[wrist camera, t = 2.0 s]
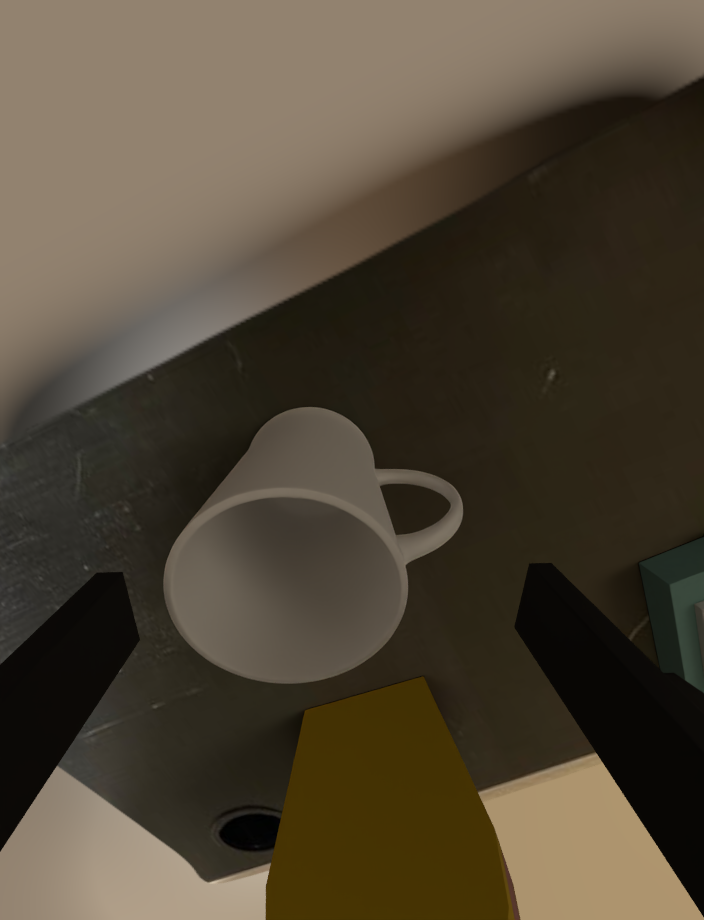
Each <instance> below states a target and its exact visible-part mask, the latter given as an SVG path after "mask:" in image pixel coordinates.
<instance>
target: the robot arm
mask: <svg viewBox="0 0 704 920" xmlns="http://www.w3.org/2000/svg"><path fill="white" fill-rule="evenodd" d="M515 629H516V631H517V632H518V634H519V635H520V637H521V638H522V640H523V641H524V643H525V644H526V646H527V647H528V649H529V650H530V652H531V653H532V655H533V657H534V658H535V660H536V661H537V663H538V664H539V666H540V667H541V669H542V670H543V672H544V673H545V675H546V676H547V678H548V679H549V681H550V683H551V684H552V686H553V687H554V689H555V690H556V692H557V693H558V695H559V696H560V698H561V699H562V701H563V702H564V704H565V705H566V707H567V709H568V710H569V712H570V713H571V715H572V716H573V718H574V719H575V721H576V722H577V724H578V725H579V727H580V728H581V730H582V732H583V733H584V735H585V736H586V738H587V739H588V741H589V742H590V744H591V745H592V747H593V748H594V750H595V751H596V753H597V754H598V756H599V758H600V759H601V761H602V762H603V764H604V765H605V767H606V768H607V770H608V771H609V773H610V774H611V776H612V777H613V779H614V780H615V782H616V784H617V785H618V786H619V788H620V790H621V791H622V793H623V794H624V796H625V797H626V799H627V800H628V802H629V803H630V805H631V806H632V808H633V810H634V811H635V813H636V814H637V816H638V817H639V819H640V820H641V822H642V823H643V825H644V826H645V828H646V829H647V831H648V832H649V834H650V836H651V837H652V839H653V840H654V841H655V843H656V845H657V846H658V848H659V849H660V851H661V852H662V854H663V855H664V857H665V858H666V860H667V862H668V863H669V865H670V866H671V867H672V869H673V871H674V872H675V874H676V875H677V877H678V878H679V880H680V881H681V883H682V885H683V886H684V888H685V889H686V890H687V892H688V893H689V895H690V897H691V898H692V900H693V901H694V903H695V904H696V906H697V907H698V909H699V911H700V912H701V914H702V915H703V917H704V693H703V692H702V691H700V690H699V689H697V688H696V687H694V686H693V685H691V684H690V683H688V682H687V681H685V680H684V679H683V678H681V677H680V676H678V675H677V674H675V673H663V672H662V671H661V670H660V669H659V668H658V667H657V666H656V665H655V664H654V663H653V662H652V661H651V660H650V659H649V658H648V657H647V656H646V655H645V654H644V653H643V652H641V651H640V650H639V649H638V648H637V647H636V646H635V645H634V644H633V643H632V642H631V641H630V640H629V639H628V638H627V637H626V636H625V635H624V634H623V633H622V632H621V631H620V630H619V629H618V628H617V627H616V626H615V625H614V624H613V623H612V622H611V621H610V620H609V619H608V618H607V617H606V616H605V615H604V614H603V613H602V612H601V611H600V610H599V609H598V608H597V607H596V606H595V605H594V604H593V603H591V602H590V601H589V600H588V599H587V598H586V597H585V596H584V595H583V594H582V593H581V592H580V591H579V590H578V589H577V588H576V587H575V586H574V585H573V584H572V583H571V582H570V581H569V580H568V579H567V578H566V577H565V576H564V575H563V574H562V573H561V572H560V571H559V570H558V569H557V568H556V567H555V566H554V565H553V564H552V563H532V564H529V567H528V572H527V576H526V580H525V584H524V588H523V593H522V597H521V601H520V605H519V610H518V614H517V618H516V622H515ZM139 640H140V638H139V634H138V630H137V626H136V623H135V619H134V615H133V611H132V607H131V603H130V599H129V595H128V591H127V587H126V583H125V579H124V576H123V572H107V573H96V574H95V575H94V576H93V577H92V578H91V579H90V580H89V581H88V582H87V583H86V584H85V585H83V586H82V587H81V588H80V589H79V590H78V591H77V592H76V593H75V594H74V595H73V596H72V597H71V598H70V599H69V600H68V601H67V602H66V603H65V604H64V605H63V606H61V607H60V608H59V609H58V610H57V611H56V612H55V613H54V614H53V615H52V616H51V617H50V618H49V619H48V620H47V621H46V622H45V623H44V624H43V625H42V626H40V627H39V628H38V629H37V630H36V631H35V632H34V633H33V634H32V635H31V636H30V637H29V638H28V639H27V640H26V641H25V642H24V643H23V644H22V645H21V646H20V647H18V648H17V649H16V650H15V651H14V652H13V653H12V654H11V655H10V656H9V657H8V658H7V659H6V660H5V661H4V662H3V663H2V664H1V665H0V851H1V850H2V848H3V847H4V845H5V844H6V842H7V840H8V839H9V837H10V836H11V835H12V833H13V832H14V830H15V828H16V827H17V825H18V824H19V822H20V821H21V819H22V818H23V816H24V815H25V813H26V812H27V810H28V809H29V807H30V806H31V804H32V803H33V801H34V800H35V798H36V797H37V795H38V794H39V792H40V790H41V789H42V788H43V786H44V784H45V783H46V781H47V780H48V778H49V777H50V775H51V774H52V772H53V771H54V769H55V768H56V766H57V765H58V763H59V762H60V760H61V759H62V757H63V756H64V754H65V753H66V751H67V750H68V748H69V747H70V745H71V744H72V742H73V741H74V739H75V737H76V736H77V734H78V733H79V731H80V730H81V728H82V727H83V725H84V724H85V722H86V721H87V719H88V718H89V716H90V715H91V713H92V712H93V710H94V709H95V707H96V706H97V704H98V703H99V701H100V700H101V698H102V697H103V695H104V694H105V692H106V690H107V689H108V687H109V686H110V684H111V683H112V681H113V680H114V678H115V677H116V675H117V674H118V672H119V671H120V669H121V668H122V666H123V665H124V663H125V662H126V660H127V659H128V657H129V656H130V654H131V653H132V651H133V650H134V648H135V647H136V645H137V643H138V642H139Z"/></svg>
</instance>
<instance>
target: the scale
mask: <svg viewBox="0 0 704 920" xmlns="http://www.w3.org/2000/svg"><path fill="white" fill-rule="evenodd" d="M639 567H640V572H641V577H642V582H643V587H644V592H645V596H646V601H647V606H648V611H649V616H650V621H651V626H652V631H653V636H654V641H655V646H656V651H657V656H658V661H659V666H660V670H661V671H662V672H663V673H675V674H677V675H678V676H680V677H681V678H683V679H684V680H685V681H687V682H688V683H690V684H691V685H693V686H694V687H696V688H697V689H699V690H700V691H702V692H703V693H704V537H702V538H700V539H697V540H695V541H692V542H690V543H687V544H685V545H682V546H680V547H677V548H675V549H672V550H670V551H667V552H665V553H662V554H660V555H657V556H655V557H652V558H650V559H647V560H645V561H642V562H640V563H639Z"/></svg>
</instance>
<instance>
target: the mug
mask: <svg viewBox="0 0 704 920" xmlns="http://www.w3.org/2000/svg"><path fill="white" fill-rule="evenodd" d="M385 484H412V485H418V486H422V487H426V488H429V489H432V490H434V491H436V492H438V493H440V494H442V495H443V496H444V497H446V498H447V499H448V501H449V502H450V504H451V507H450V510H449V511H448V513H447V514H446V515H445V516H444V517H443V518H442V519H441V520H440V521H438V522H437V523H435V524H434V525H432V526H430V527H428V528H426V529H423V530H421V531H418V532H415V533H410V534H404V535H395V532H394V529H393V526H392V523H391V520H390V517H389V514H388V510H387V507H386V504H385V501H384V498H383V495H382V492H381V489H380V486H381V485H385ZM462 517H463V504H462V500H461V497H460V495H459V493H458V492H457V490H456V489H455V488H454V487H453V486H452V485H451V484H450V483H448V482H447V481H445V480H443V479H441V478H439V477H437V476H434V475H432V474H428V473H425V472H420V471H414V470H405V469H375V466H374V457H373V453H372V450H371V447H370V445H369V443H368V441H367V439H366V437H365V436H364V434H363V433H362V432H361V430H360V429H359V428H358V427H357V426H356V425H355V424H354V423H352V422H351V421H350V420H349V419H347V418H346V417H344V416H342V415H340V414H338V413H336V412H334V411H331V410H327V409H323V408H317V407H302V408H295V409H291V410H288V411H285V412H283V413H281V414H279V415H277V416H275V417H273V418H272V419H271V420H269V421H268V422H267V423H266V424H265V425H263V427H262V428H261V429H260V430H259V431H258V432H257V434H256V435H255V437H254V439H253V441H252V443H251V445H250V448H249V450H248V451H247V452H246V453H245V455H244V456H243V457H242V458H241V460H240V461H239V462H238V463H237V464H236V466H235V467H234V468H233V469H232V471H231V472H230V473H229V474H228V475H227V477H226V478H225V479H224V480H223V482H222V483H221V484H220V485H219V486H218V488H217V489H216V490H215V491H214V493H213V494H212V495H211V496H210V498H209V499H208V500H207V501H206V502H205V504H204V505H203V506H202V507H201V509H200V510H199V511H198V512H197V513H196V515H195V516H194V517H193V518H192V520H191V521H190V522H189V523H188V525H187V526H186V527H185V528H184V530H183V531H182V532H181V534H180V535H179V537H178V538H177V540H176V541H175V543H174V545H173V547H172V549H171V551H170V553H169V556H168V559H167V562H166V566H165V571H164V580H163V587H164V597H165V602H166V606H167V609H168V612H169V615H170V617H171V619H172V621H173V623H174V625H175V627H176V628H177V630H178V631H179V633H180V634H181V635H182V637H183V638H184V639H185V640H186V642H187V643H188V644H189V645H190V646H191V647H192V648H193V649H194V650H196V651H197V652H198V653H199V654H200V655H202V656H203V657H204V658H206V659H207V660H209V661H210V662H212V663H213V664H215V665H217V666H219V667H220V668H222V669H225V670H227V671H229V672H231V673H234V674H236V675H239V676H242V677H246V678H249V679H253V680H258V681H263V682H271V683H305V682H312V681H318V680H322V679H326V678H330V677H333V676H336V675H339V674H341V673H344V672H346V671H348V670H350V669H352V668H354V667H356V666H358V665H360V664H361V663H363V662H364V661H366V660H367V659H369V658H370V657H371V656H373V655H374V654H375V653H376V652H377V651H379V650H380V649H381V648H382V647H383V646H384V645H385V643H386V642H387V641H388V640H389V639H390V637H391V636H392V635H393V633H394V632H395V630H396V628H397V627H398V625H399V623H400V621H401V618H402V616H403V613H404V610H405V607H406V602H407V596H408V578H407V571H406V567H405V565H406V564H407V563H409V562H410V561H412V560H414V559H417V558H419V557H421V556H424V555H426V554H428V553H430V552H432V551H434V550H435V549H437V548H439V547H440V546H442V545H443V544H444V543H446V542H447V541H448V540H449V539H450V538H451V537H452V536H453V535H454V534H455V532H456V531H457V529H458V528H459V526H460V524H461V521H462Z"/></svg>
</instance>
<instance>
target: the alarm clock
mask: <svg viewBox="0 0 704 920" xmlns="http://www.w3.org/2000/svg"><path fill="white" fill-rule="evenodd" d="M266 920H520V916H519V911H518V906H517V901H516V896H515V891H514V886H513V883H512V879H511V877H510V874H509V871H508V868H507V865H506V862H505V859H504V856H503V853H502V850H501V847H500V844H499V841H498V838H497V835H496V832H495V829H494V826H493V824H492V822H491V820H490V818H489V816H488V814H487V812H486V809H485V807H484V805H483V803H482V801H481V799H480V796H479V794H478V792H477V790H476V788H475V786H474V784H473V781H472V779H471V777H470V775H469V773H468V771H467V769H466V767H465V764H464V762H463V760H462V758H461V756H460V754H459V752H458V749H457V747H456V745H455V743H454V741H453V739H452V737H451V734H450V732H449V730H448V728H447V726H446V724H445V722H444V719H443V717H442V715H441V713H440V711H439V709H438V707H437V705H436V702H435V700H434V698H433V696H432V694H431V692H430V690H429V687H428V685H427V683H426V681H425V679H424V677H423V676H422V677H419V678H415V679H412V680H408V681H405V682H401V683H398V684H395V685H391V686H388V687H384V688H381V689H377V690H374V691H370V692H367V693H363V694H360V695H356V696H353V697H349V698H346V699H343V700H339V701H336V702H332V703H329V704H325V705H322V706H318V707H315V708H311V709H308V710H305V713H304V718H303V722H302V727H301V731H300V736H299V740H298V745H297V749H296V754H295V758H294V763H293V767H292V772H291V776H290V781H289V785H288V790H287V794H286V798H285V803H284V807H283V812H282V816H281V821H280V825H279V830H278V834H277V839H276V843H275V848H274V852H273V857H272V861H271V866H270V870H269V875H268V880H267V884H266Z"/></svg>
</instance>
